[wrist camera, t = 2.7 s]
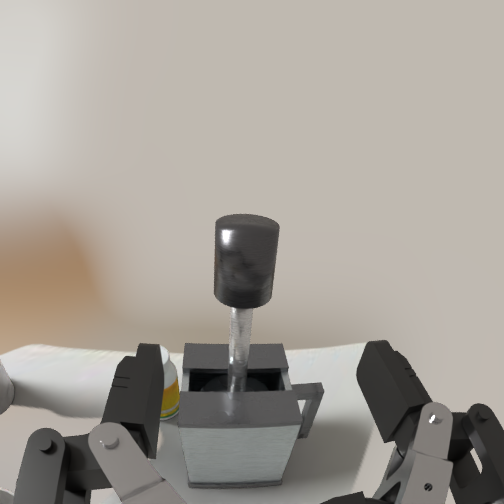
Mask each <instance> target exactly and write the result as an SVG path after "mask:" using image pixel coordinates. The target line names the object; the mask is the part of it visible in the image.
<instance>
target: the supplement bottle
mask: <svg viewBox="0 0 504 504" xmlns="http://www.w3.org/2000/svg"><path fill="white" fill-rule="evenodd" d="M160 349H161V356H162V362H163V369H164V392H163V400H162V407H161V415H160V420H167V419H170V418H172V417H174V416H175V415H176V414H177V413H178V412H179V401H180V393H179V385H178V376H177V370H176V367H175V365H174V364H173V363H172V362H171V361H170V356H169V353H168V351H167V350H166V349H165V348H164V347H162V346H160ZM136 353H137V352H136ZM136 353H135V357H136Z"/></svg>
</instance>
